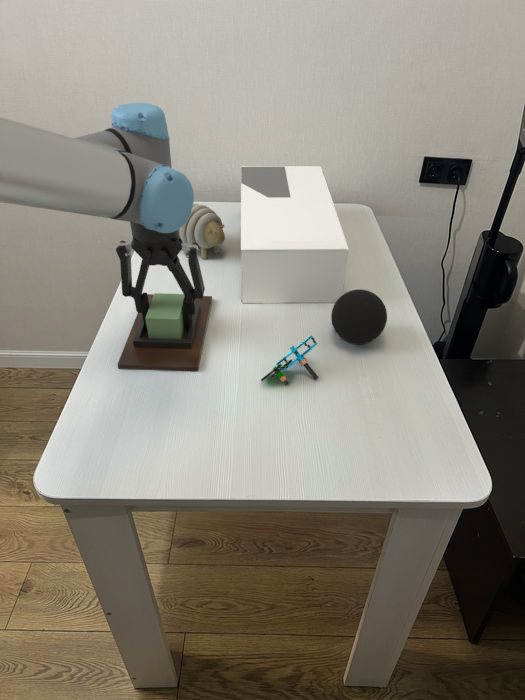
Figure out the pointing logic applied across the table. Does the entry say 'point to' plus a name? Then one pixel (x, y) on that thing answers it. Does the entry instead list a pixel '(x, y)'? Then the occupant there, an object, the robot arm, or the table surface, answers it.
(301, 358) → the stick construction toy
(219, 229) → the toy sheep
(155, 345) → the back board
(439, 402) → the table surface
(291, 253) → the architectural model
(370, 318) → the speaker
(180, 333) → the green rectangular block
